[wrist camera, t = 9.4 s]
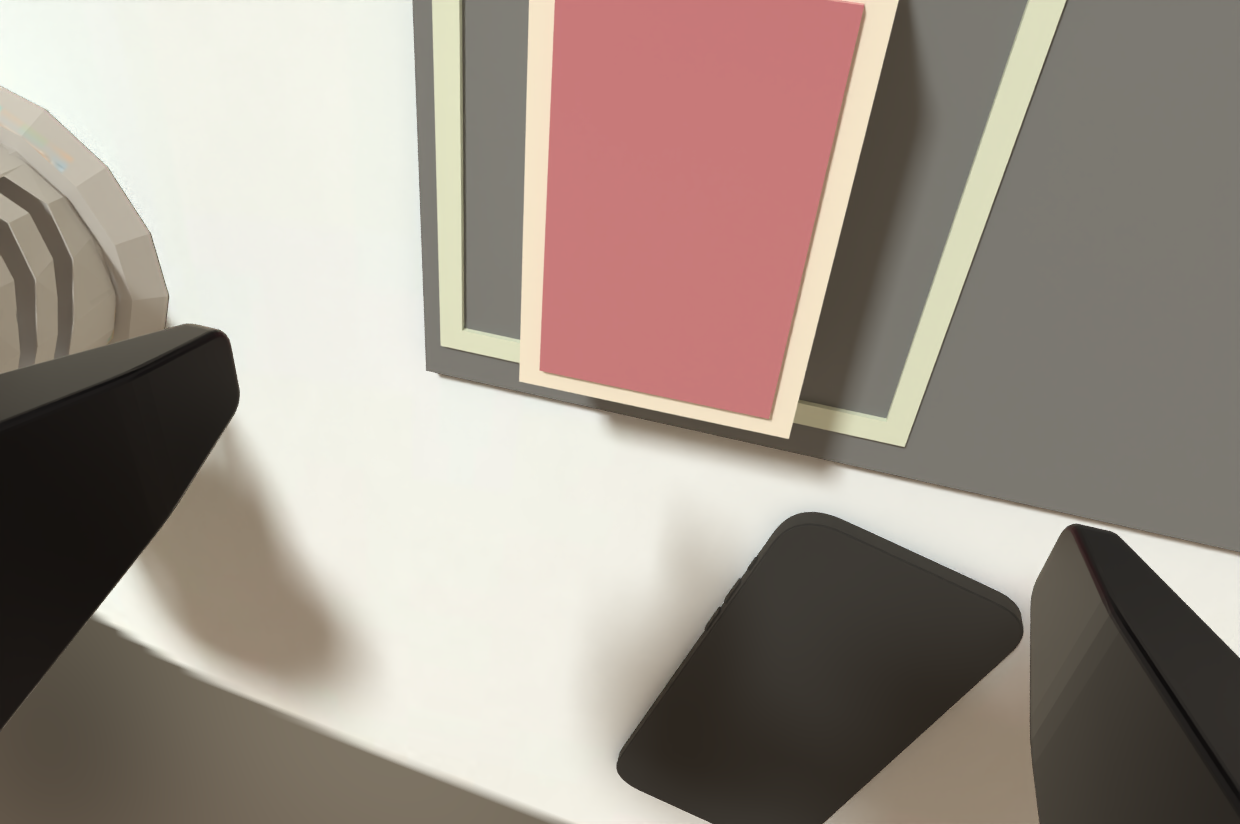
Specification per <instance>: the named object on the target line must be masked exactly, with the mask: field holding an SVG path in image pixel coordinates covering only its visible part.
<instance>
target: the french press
mask: <svg viewBox="0 0 1240 824" xmlns="http://www.w3.org/2000/svg"><path fill="white" fill-rule="evenodd" d="M168 298H169V296H168V292H167V289H166V285H165V282H164V279H163V275H162V272H161V268H160V265H159V262H158V258H157V255H156V251H155V248H154V245H153V241H152V238H151V234H150V232H149V231H148V229H147V228H146V226H145V224H144V223H143V221H142V220H141V218H140V217H139V215H138V214H137V212H136V211H135V209H134V207H133V206H132V204H131V203H130V201H129V200H128V198H127V197H126V195H125V194H124V192H123V190H122V189H121V187H120V186H119V184H118V183H117V181H116V180H115V178H114V177H113V175H112V173H111V172H110V170H109V169H108V167H107V166H106V165H105V164H104V163H103V162H101V161H100V160H99V159H98V158H97V157H96V156H95V155H94V154H93V153H92V152H91V151H90V150H89V149H87V148H86V147H85V146H84V145H83V144H82V143H81V142H80V141H79V140H78V139H77V138H76V137H75V136H73V135H72V134H71V133H70V132H69V131H68V130H67V129H66V128H65V127H64V126H63V125H62V124H61V123H59V122H58V121H57V120H56V119H55V118H54V117H53V116H52V115H51V114H50V113H49V112H48V111H47V110H45V109H44V108H42V107H40V106H38V105H36V104H34V103H32V102H30V101H28V100H26V99H24V98H23V97H21V96H19V95H17V94H15V93H13V92H11V91H9V90H7V89H5V88H3V87H1V86H0V374H1V373H5V372H8V371H12V370H16V369H19V368H23V367H27V366H31V365H34V364H38V363H42V362H45V361H49V360H53V359H57V358H60V357H64V356H68V355H71V354H75V353H79V352H82V351H86V350H90V349H94V348H97V347H101V346H105V345H108V344H112V343H116V342H119V341H123V340H127V339H131V338H134V337H138V336H142V335H145V334H149V333H153V332H156V331H160V330H164V329H165V322H166V314H167V306H168Z"/></svg>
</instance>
